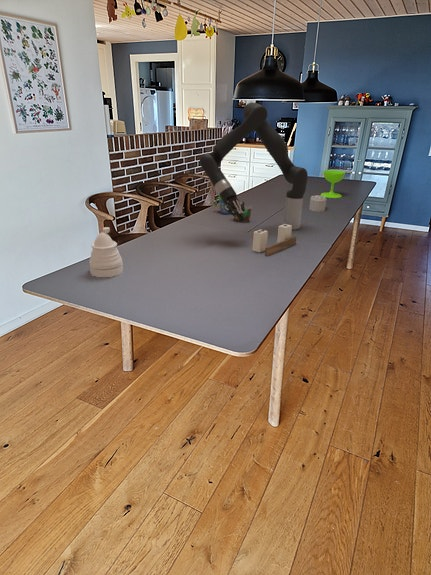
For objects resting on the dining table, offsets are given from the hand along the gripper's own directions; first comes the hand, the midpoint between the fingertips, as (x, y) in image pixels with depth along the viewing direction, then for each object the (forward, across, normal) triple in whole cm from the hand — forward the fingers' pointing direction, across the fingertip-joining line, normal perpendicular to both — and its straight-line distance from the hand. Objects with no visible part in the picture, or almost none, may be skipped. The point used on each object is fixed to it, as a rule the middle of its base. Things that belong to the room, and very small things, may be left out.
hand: (244, 221), depth 182 cm
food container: (-12, +36, +31) cm, 49 cm away
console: (+16, +8, +2) cm, 18 cm away
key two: (+15, 0, +1) cm, 15 cm away
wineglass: (-11, +144, +28) cm, 147 cm away
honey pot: (-5, -63, +24) cm, 67 cm away
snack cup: (-26, +45, +44) cm, 68 cm away
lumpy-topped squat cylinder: (-1, +97, +19) cm, 99 cm away
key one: (+17, +16, -1) cm, 24 cm away
